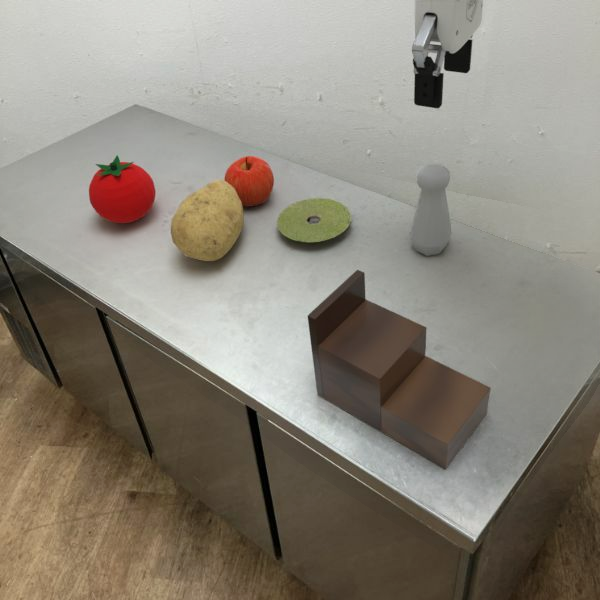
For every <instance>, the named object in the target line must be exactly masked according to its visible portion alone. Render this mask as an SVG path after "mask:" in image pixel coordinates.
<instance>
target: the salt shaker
mask: <svg viewBox="0 0 600 600" xmlns="http://www.w3.org/2000/svg"><path fill="white" fill-rule="evenodd" d="M450 180H451V173H450V170H449V169H448V168H447V167H446V166H445V165H444V164H441V163H437V162H435V163H434V162H433V163H432V162H431V163H426V164H424V165H422V166H421V167H420V168H418V171H417V173H416V183H417V186H418V187H419V188H420V189H419V194H418V198H417V202H416V203H417V204H416V208H415V212H414V215H413V220H412V223H411V227H410V231H409V237H410V239H411V242H412V244H413V246H414V248H415V250H416V252H419V253H421V254H422V255H425V256H435V255H440V254H441V253H442V251H443V250H444V249H445V248H446V246H447V245H448V244H449V243H450V241H451V239H452V235H453V231H452V224H451V219H450V218H451V217H450V211H449V204H448V197H447V192H446V191H447V190H446V188H447V187H448V186H449V184H450Z"/></svg>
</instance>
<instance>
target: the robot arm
mask: <svg viewBox="0 0 600 600" xmlns="http://www.w3.org/2000/svg"><path fill="white" fill-rule="evenodd" d="M483 4H484V0H414V10H413V11H414V12H413V43H412V46H411V53H412V57H413V58H412V64H413V74H414V84H413V85H414V88H413V89H414V91H413V103H414V105H415V106H417V107H418V106H419V107H425V108H430V109H431V108H432V109H440V108H441V107H442V105H443V94H444V77H445V76H444V73H443V72H441V71H442V69H443V70H444V71H446V72H453V73H460V74H468V73H469V72H470V70H471V63H472V51H473V39H472V38H473V36H474V34H475V33H476V32H477V30H478V29H479V27H480V26H481V24H482V19H483V6H484V5H483ZM431 42H434V43H440V44H434V43H431ZM429 54H436V56H435V60H433V58H432V56H429ZM442 67H443V68H442Z"/></svg>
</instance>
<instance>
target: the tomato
mask: <svg viewBox="0 0 600 600" xmlns="http://www.w3.org/2000/svg"><path fill="white" fill-rule="evenodd" d="M118 155H119V154H116V156H115V158H114V159H113V161H112V162H110V163H109V164H99V163H95V166H97V167H98V168H99V169H98V170H97V171H96V173H94V175H93V176H92V179H91V180H90V183H89V186H88V199H89V202H90V205H91V207H92V209H93V210H94V211H95V212H96V213H97V215H99V216H100V217H101V218H103V219H105V220H106V221H109V222H112V223H116V224H128V223H133V222H136V221H137V220H140V219H141V218H143V217H144V216H145V215H147V214H148V212H149V211H150V210H151V209H152V207H153V205H154V203H155V199H156V186H155V183H154V181H153V178H152V177H151V175H150V174H149V173H148V172H147V171H146V170H145V169H144V168H142V167H141V166H140V165H137V164H135V163H134V161H131V162H129V161H121V160H120V158H119V156H118Z"/></svg>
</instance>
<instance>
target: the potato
mask: <svg viewBox="0 0 600 600" xmlns="http://www.w3.org/2000/svg"><path fill="white" fill-rule="evenodd" d="M244 221H245V213H244V206H243V205H242V202H241V200H240V198H239V197H238V195H237V193H236V191H235V189H234V188H233V187H232V185H230V184H229V183H227V182H226V181H225V179H215V180H212V181H211V182H209V183H208V184H206V185H204V186H203V187H202V188H200V189H199V190H196V191H194V192H192V193H190V194H188V195H187V196H186V197H185V198H184V199H183V200H182V202H181V203H180V204H179V206H178V208H177V210H176V212H175V213H174V215H173V216H172V218H171V222H170V235H171V240H172V243H173V244H174V246H175V247H176V248H177V250H179V252H180V253H182V254H183V255H185V256H186V257H187V258H191V259H194V260H198V261H203V262H215V261H218V260H220V259H222V258H223V257H224V256H226V254H228V252H229V251H230V250H231V249H232V247H234V245H235V244H236V242H237V239H238V238H239V236H240V235H241V232H242V229H243V227H244Z"/></svg>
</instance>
